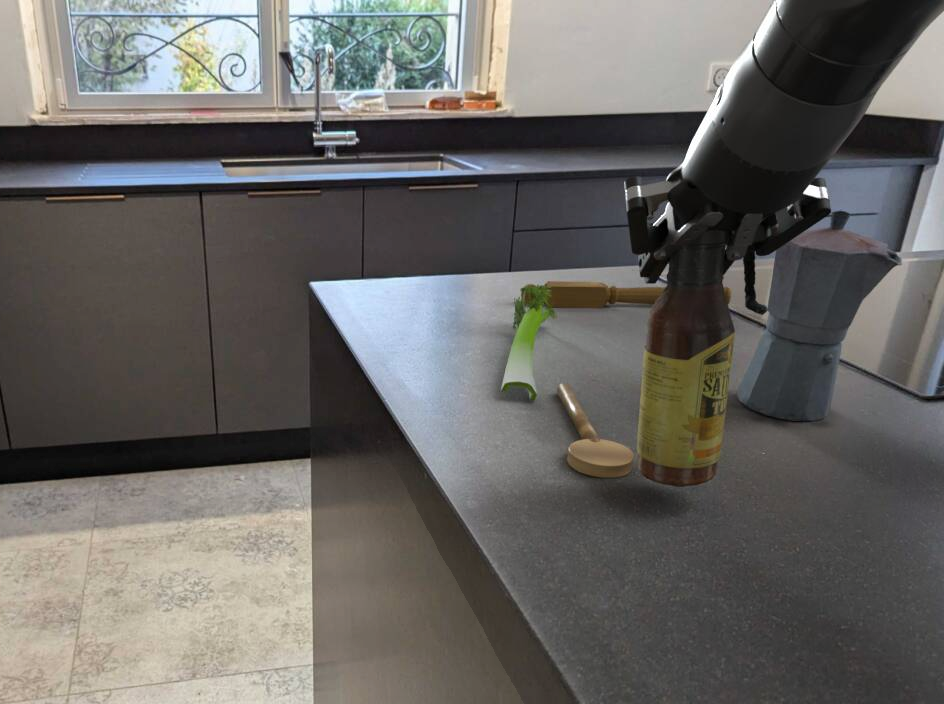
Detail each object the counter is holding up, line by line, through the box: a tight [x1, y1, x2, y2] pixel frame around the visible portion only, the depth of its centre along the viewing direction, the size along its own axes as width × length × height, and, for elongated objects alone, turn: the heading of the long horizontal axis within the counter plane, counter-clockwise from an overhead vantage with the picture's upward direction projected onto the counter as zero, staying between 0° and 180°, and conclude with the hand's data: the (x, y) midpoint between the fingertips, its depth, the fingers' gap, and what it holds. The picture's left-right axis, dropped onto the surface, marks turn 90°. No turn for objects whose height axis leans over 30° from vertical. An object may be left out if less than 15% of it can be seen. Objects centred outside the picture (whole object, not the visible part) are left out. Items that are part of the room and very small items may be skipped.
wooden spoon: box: [556, 382, 635, 479], centre depth 80 cm, size 20×6×1 cm, turn 178°
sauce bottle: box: [636, 230, 736, 488], centre depth 63 cm, size 7×6×20 cm
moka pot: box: [735, 210, 903, 422], centre depth 82 cm, size 10×15×20 cm, turn 36°
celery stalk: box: [500, 282, 558, 403], centre depth 99 cm, size 6×7×30 cm
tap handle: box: [520, 280, 732, 309], centre depth 120 cm, size 3×3×30 cm
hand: (676, 273), depth 64 cm, fingers closed on sauce bottle, 3 cm apart
